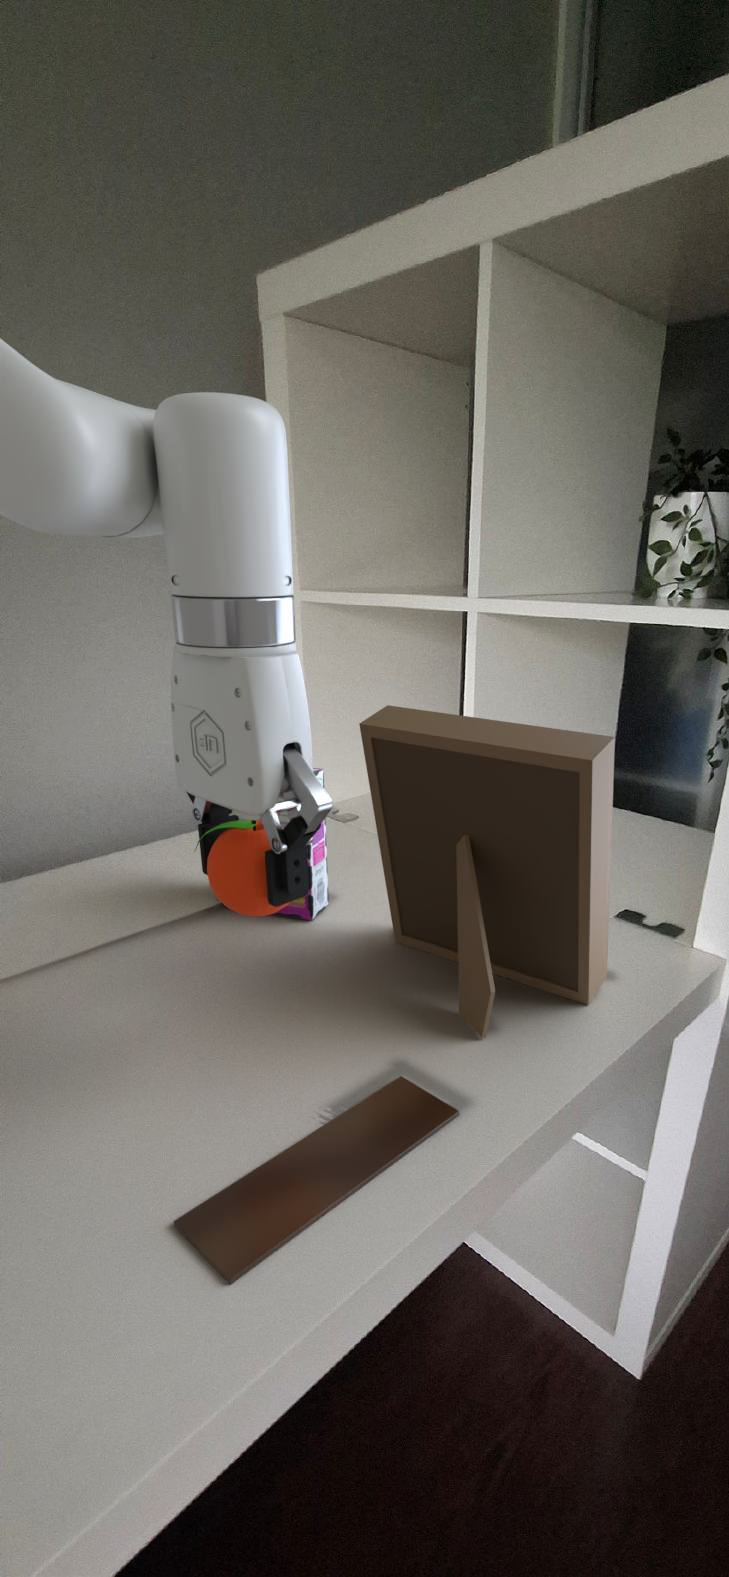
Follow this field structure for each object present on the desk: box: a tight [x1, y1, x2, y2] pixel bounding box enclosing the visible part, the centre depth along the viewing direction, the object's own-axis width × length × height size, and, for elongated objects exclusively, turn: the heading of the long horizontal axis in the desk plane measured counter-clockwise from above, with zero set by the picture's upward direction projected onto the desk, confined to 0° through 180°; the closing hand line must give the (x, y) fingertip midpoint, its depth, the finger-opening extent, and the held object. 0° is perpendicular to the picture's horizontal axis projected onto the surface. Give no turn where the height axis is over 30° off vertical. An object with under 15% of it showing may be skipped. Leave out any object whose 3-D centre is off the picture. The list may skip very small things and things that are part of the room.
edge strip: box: [173, 1075, 460, 1285], centre depth 52 cm, size 6×20×1 cm, turn 137°
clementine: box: [193, 820, 290, 917], centre depth 56 cm, size 8×7×7 cm
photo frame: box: [359, 704, 616, 1039], centre depth 69 cm, size 15×22×25 cm
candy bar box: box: [229, 767, 330, 921], centre depth 87 cm, size 11×5×16 cm, turn 73°
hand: (254, 882), depth 56 cm, fingers closed on clementine, 7 cm apart
